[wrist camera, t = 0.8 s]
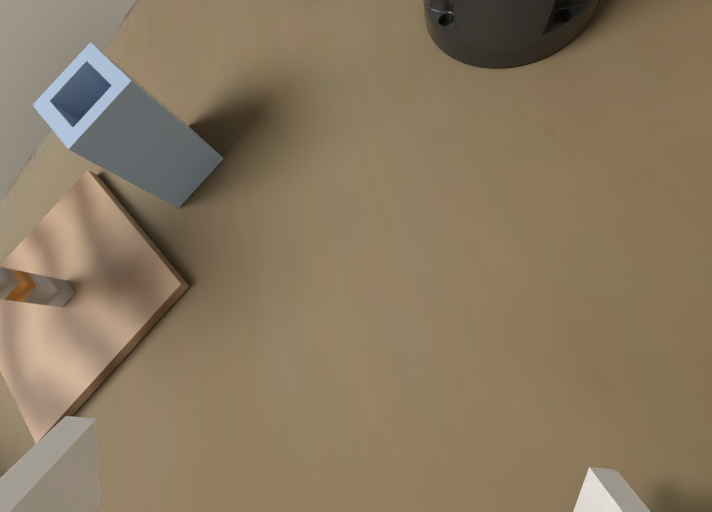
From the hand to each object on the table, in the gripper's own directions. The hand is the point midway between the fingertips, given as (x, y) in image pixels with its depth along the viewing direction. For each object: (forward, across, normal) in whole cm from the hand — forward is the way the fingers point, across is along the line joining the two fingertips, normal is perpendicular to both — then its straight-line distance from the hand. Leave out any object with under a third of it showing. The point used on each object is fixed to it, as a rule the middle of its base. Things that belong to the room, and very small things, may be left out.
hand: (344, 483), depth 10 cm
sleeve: (+35, -18, +4) cm, 39 cm away
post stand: (+30, -28, -10) cm, 42 cm away
